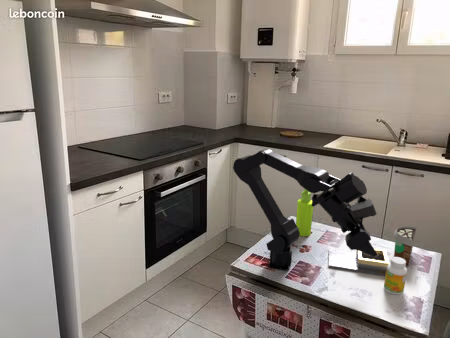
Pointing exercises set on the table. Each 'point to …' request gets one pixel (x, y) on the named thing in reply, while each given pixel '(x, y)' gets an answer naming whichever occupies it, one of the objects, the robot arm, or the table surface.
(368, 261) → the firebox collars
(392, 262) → the supplement bottle
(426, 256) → the table surface
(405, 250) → the food container
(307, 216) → the soap dispenser
